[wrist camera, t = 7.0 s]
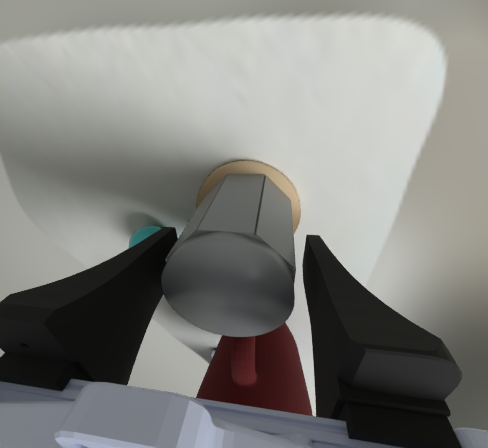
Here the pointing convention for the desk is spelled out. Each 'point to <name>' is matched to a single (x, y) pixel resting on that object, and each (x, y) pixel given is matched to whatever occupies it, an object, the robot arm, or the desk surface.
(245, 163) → the tan round coaster
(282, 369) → the mug
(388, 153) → the desk surface
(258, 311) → the faceted grey cylinder
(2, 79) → the desk surface
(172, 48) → the desk surface
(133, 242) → the marble
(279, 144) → the desk surface
